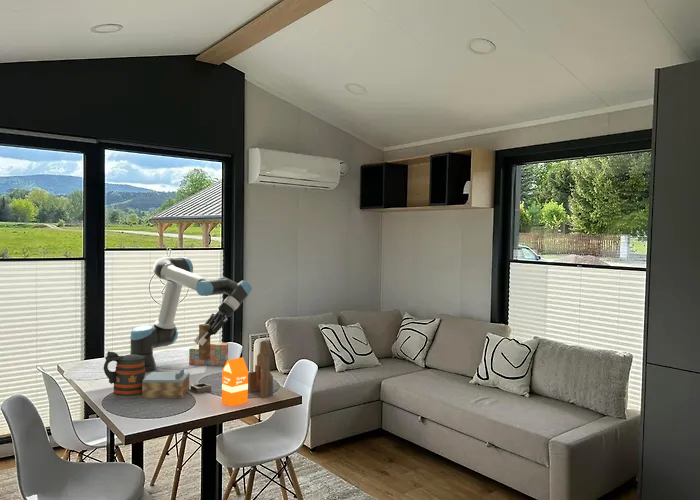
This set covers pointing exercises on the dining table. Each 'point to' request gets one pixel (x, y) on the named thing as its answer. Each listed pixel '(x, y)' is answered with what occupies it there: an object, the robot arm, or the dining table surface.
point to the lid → (167, 377)
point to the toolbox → (165, 389)
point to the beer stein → (126, 373)
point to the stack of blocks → (216, 354)
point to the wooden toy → (261, 373)
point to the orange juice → (235, 382)
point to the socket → (200, 388)
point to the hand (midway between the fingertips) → (197, 343)
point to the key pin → (205, 349)
